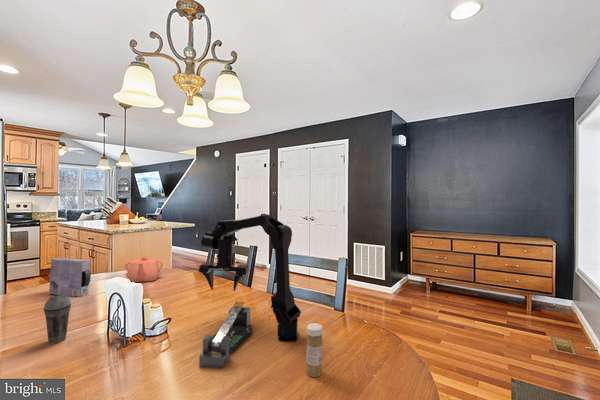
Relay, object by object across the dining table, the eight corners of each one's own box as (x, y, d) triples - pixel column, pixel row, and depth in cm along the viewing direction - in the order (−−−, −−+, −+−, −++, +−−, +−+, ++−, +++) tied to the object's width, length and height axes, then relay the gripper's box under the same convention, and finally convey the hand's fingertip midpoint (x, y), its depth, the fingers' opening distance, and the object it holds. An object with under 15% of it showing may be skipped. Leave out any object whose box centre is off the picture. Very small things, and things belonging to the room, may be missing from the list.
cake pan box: (91, 294, 144) (91, 259, 144) (82, 297, 139) (82, 261, 139) (58, 291, 147) (58, 257, 147) (48, 295, 142) (48, 259, 142)
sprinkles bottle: (313, 366, 85) (313, 321, 85) (325, 373, 82) (325, 326, 82) (302, 373, 82) (303, 326, 81) (314, 380, 78) (315, 331, 78)
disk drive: (227, 331, 108) (203, 350, 94) (227, 323, 108) (203, 341, 94) (252, 335, 105) (231, 355, 91) (252, 327, 105) (232, 347, 91)
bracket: (250, 323, 113) (250, 306, 113) (223, 368, 83) (223, 344, 83) (232, 322, 114) (232, 305, 114) (199, 366, 84) (199, 343, 84)
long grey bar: (243, 304, 111) (243, 301, 111) (220, 348, 87) (220, 344, 86) (235, 304, 111) (235, 300, 111) (210, 348, 87) (210, 343, 87)
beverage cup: (37, 347, 93) (38, 286, 93) (50, 336, 100) (51, 279, 100) (64, 344, 95) (64, 284, 95) (75, 334, 102) (75, 278, 102)
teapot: (118, 287, 155) (119, 262, 155) (127, 278, 173) (127, 255, 173) (159, 284, 161) (160, 260, 161) (163, 275, 180) (164, 253, 179)
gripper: (252, 248, 123) (250, 285, 123) (209, 246, 124) (208, 282, 124) (246, 254, 111) (244, 294, 112) (199, 251, 112) (197, 290, 113)
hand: (223, 289), depth 115 cm, fingers open, 9 cm apart
